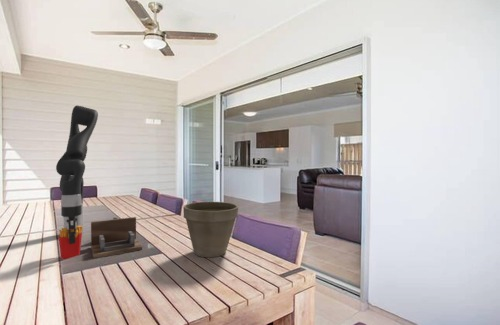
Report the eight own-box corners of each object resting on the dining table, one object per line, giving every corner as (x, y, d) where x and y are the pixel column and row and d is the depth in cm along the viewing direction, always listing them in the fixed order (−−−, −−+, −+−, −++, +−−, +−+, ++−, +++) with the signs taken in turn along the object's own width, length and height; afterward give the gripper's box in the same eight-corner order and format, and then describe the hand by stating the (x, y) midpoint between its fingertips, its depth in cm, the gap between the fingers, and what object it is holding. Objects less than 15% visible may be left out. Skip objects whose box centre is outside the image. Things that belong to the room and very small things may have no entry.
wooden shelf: (91, 247, 131) (90, 221, 131) (135, 240, 142) (135, 216, 142) (93, 258, 117) (93, 229, 117) (142, 249, 128) (142, 223, 128)
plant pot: (245, 246, 133) (245, 202, 132) (224, 265, 109) (224, 212, 109) (200, 241, 141) (200, 199, 140) (172, 258, 118) (172, 208, 117)
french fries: (62, 260, 115) (62, 229, 114) (57, 258, 117) (56, 228, 116) (84, 253, 123) (84, 225, 122) (79, 251, 125) (79, 223, 124)
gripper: (82, 206, 115) (82, 243, 116) (81, 201, 127) (81, 236, 128) (60, 207, 111) (61, 247, 112) (61, 203, 123) (62, 238, 123)
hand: (72, 241), depth 120 cm, fingers open, 8 cm apart
